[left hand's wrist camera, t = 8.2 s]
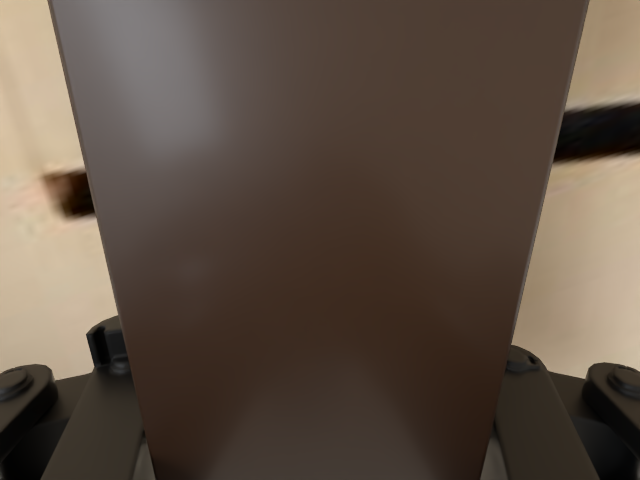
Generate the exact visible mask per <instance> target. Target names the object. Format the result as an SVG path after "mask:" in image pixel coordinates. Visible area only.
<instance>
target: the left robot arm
mask: <svg viewBox="0 0 640 480" xmlns="http://www.w3.org/2000/svg"><path fill="white" fill-rule="evenodd" d="M86 336H87V340H88V344H89V348H90V351H91V355H92V359H93V363H94V366H95V367H94V369H93V371H92V373H89V374H85V375H80V376H76V377H71V378H66V379H61V380H56V381H55V379H54V376H53V373H52V370H51V369H50V368H48V367H47V366H46V365H39V364H33V365H25V366H19V367H15V368H12V369H9V370H6V371H4V372H3V373H1V374H0V480H155V475H154V471H153V466H152V462H151V457H150V453H149V449H148V444H147V440H146V435H145V431H144V426H143V422H142V417H141V413H140V409H139V404H138V400H137V395H136V391H135V386H134V382H133V378H132V373H131V369H130V364H129V360H128V355H127V351H126V346H125V342H124V338H123V333H122V329H121V324H120V320H119V315H118V316H114V317H112V318H109V319H107V320H104V321H102V322H100V323H99V324H97V325H95V326H94V327H92V328H91V330H90V331H89V332H88V333H87V334H86ZM480 480H640V372H639V371H637V370H636V369H633V368H631V367H628V366H627V367H626V366H624V365H620V364H613V363H605V362H604V363H597V364H593V365H592V366H591V367H590V368H589V369H588V372H587V375H586V378H585V379H582V378H577V377H572V376H568V375H563V374H558V373H554V372H550V371H547V369H546V367H545V365H544V364H543V363H542V361H541V360H540V359H539V358H538V357H536V356H535V355H534V354H532V353H531V352H529V351H527V350H525V349H522V348H520V347H518V346H514V345H511V347H510V351H509V356H508V360H507V365H506V369H505V373H504V378H503V382H502V386H501V391H500V395H499V400H498V404H497V408H496V413H495V417H494V422H493V426H492V430H491V435H490V439H489V444H488V448H487V452H486V457H485V461H484V466H483V470H482V474H481V479H480Z"/></svg>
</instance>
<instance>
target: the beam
mask: <svg viewBox="0 0 640 480" xmlns="http://www.w3.org/2000/svg"><path fill="white" fill-rule="evenodd" d="M588 4H589V0H48V5H49V9H50V13H51V18H52V22H53V27H54V31H55V36H56V40H57V44H58V49H59V53H60V58H61V62H62V67H63V71H64V76H65V80H66V84H67V89H68V93H69V98H70V102H71V107H72V111H73V116H74V120H75V124H76V129H77V133H78V138H79V142H80V147H81V151H82V155H83V160H84V164H85V169H86V173H87V178H88V182H89V187H90V191H91V195H92V200H93V204H94V209H95V213H96V218H97V222H98V227H99V231H100V235H101V240H102V244H103V249H104V253H105V258H106V262H107V267H108V271H109V275H110V280H111V284H112V289H113V293H114V298H115V302H116V306H117V311H118V315H119V320H120V324H121V329H122V333H123V338H124V342H125V346H126V351H127V355H128V360H129V364H130V369H131V373H132V378H133V382H134V386H135V391H136V395H137V400H138V404H139V409H140V413H141V417H142V422H143V426H144V431H145V435H146V440H147V444H148V449H149V453H150V457H151V462H152V466H153V471H154V475H155V480H480V479H481V474H482V470H483V466H484V461H485V457H486V452H487V448H488V444H489V439H490V435H491V430H492V426H493V422H494V417H495V413H496V408H497V404H498V400H499V395H500V391H501V386H502V382H503V378H504V373H505V369H506V365H507V360H508V356H509V351H510V347H511V343H512V338H513V334H514V329H515V325H516V321H517V316H518V312H519V307H520V303H521V299H522V294H523V290H524V285H525V281H526V277H527V272H528V268H529V263H530V259H531V255H532V250H533V246H534V241H535V237H536V233H537V228H538V224H539V220H540V215H541V211H542V206H543V202H544V198H545V193H546V189H547V184H548V180H549V176H550V171H551V167H552V162H553V158H554V154H555V149H556V145H557V140H558V136H559V132H560V127H561V123H562V118H563V114H564V110H565V105H566V101H567V96H568V92H569V88H570V83H571V79H572V75H573V70H574V66H575V61H576V57H577V53H578V48H579V44H580V39H581V35H582V31H583V26H584V22H585V17H586V13H587V9H588Z"/></svg>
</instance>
